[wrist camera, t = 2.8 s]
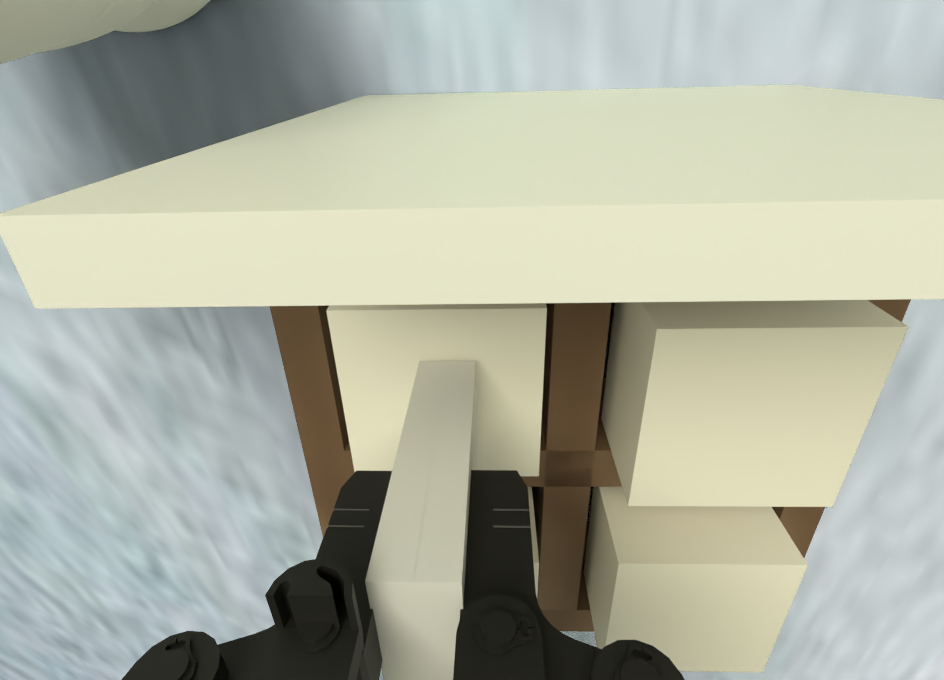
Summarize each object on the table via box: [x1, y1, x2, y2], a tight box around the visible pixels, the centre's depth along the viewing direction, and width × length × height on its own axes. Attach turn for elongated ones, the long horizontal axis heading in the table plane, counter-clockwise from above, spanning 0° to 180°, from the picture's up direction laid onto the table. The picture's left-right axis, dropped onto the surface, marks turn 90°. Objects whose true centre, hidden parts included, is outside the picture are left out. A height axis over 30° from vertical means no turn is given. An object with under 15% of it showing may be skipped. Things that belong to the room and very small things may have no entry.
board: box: [270, 299, 911, 631], centre depth 20 cm, size 18×18×4 cm
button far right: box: [583, 487, 808, 672], centre depth 19 cm, size 6×6×4 cm
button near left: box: [326, 303, 547, 476], centre depth 16 cm, size 6×6×4 cm
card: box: [0, 85, 944, 309], centre depth 10 cm, size 13×1×14 cm, turn 91°
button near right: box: [601, 300, 908, 507], centre depth 15 cm, size 6×6×4 cm
